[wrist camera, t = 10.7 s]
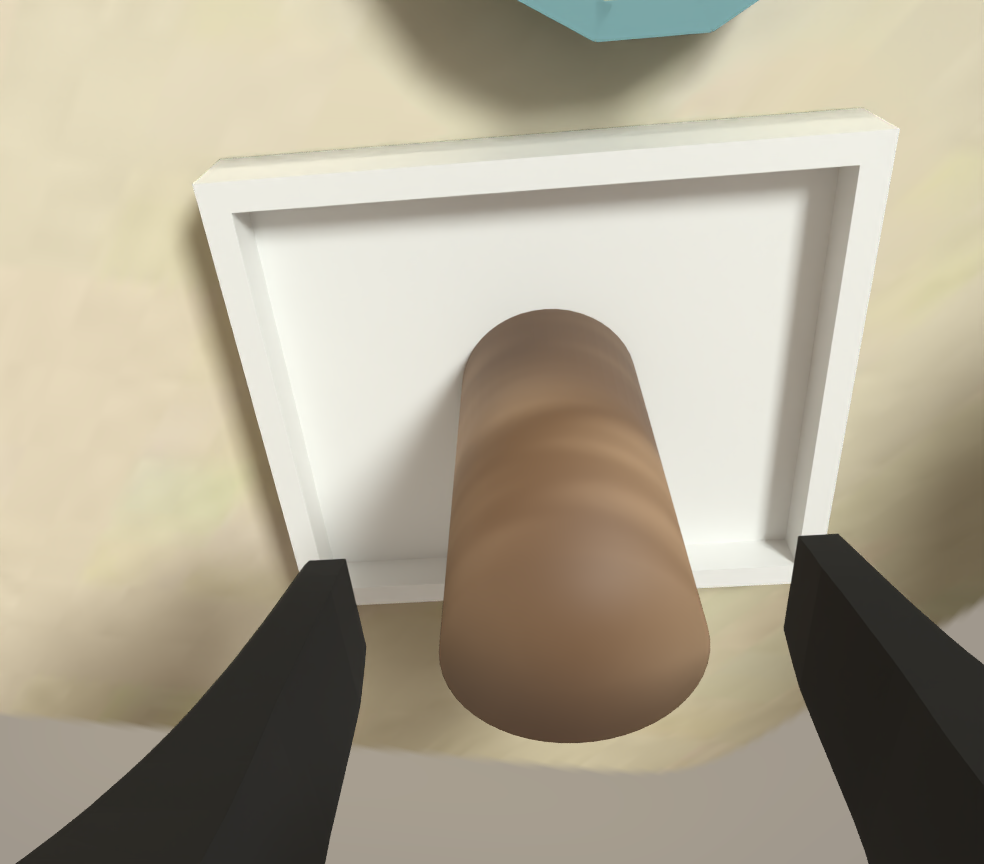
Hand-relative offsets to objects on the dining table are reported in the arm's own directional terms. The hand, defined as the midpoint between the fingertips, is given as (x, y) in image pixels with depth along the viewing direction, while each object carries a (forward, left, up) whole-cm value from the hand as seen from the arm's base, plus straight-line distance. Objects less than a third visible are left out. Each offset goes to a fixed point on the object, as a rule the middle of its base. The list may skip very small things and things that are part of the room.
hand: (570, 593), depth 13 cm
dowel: (0, 0, -7) cm, 7 cm away
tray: (0, 0, -8) cm, 8 cm away
